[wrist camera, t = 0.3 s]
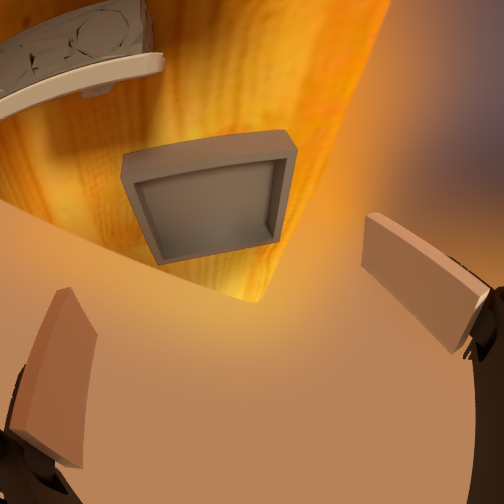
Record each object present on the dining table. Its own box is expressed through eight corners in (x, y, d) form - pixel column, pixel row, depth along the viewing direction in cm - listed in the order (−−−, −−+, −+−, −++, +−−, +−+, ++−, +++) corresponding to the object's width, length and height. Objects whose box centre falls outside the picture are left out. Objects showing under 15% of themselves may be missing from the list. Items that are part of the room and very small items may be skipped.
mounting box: (123, 154, 19) (120, 178, 18) (284, 129, 22) (297, 149, 20) (156, 243, 30) (157, 265, 28) (271, 221, 32) (279, 241, 31)
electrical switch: (44, 97, 12) (-19, 165, 7) (35, 36, 8) (-46, 71, 3) (166, 68, 15) (165, 112, 9) (167, 1, 11) (165, -13, 5)
